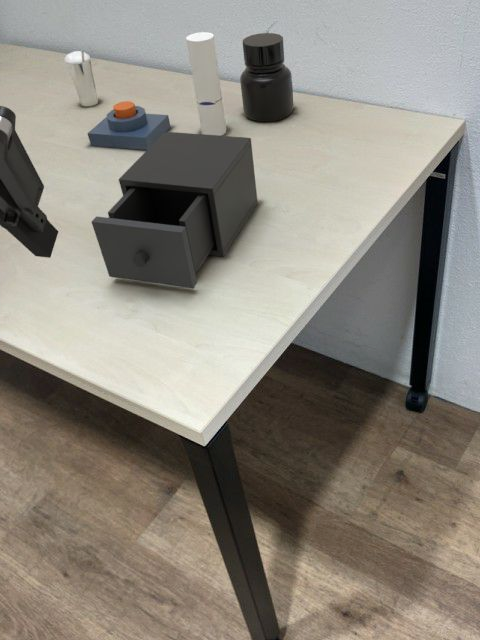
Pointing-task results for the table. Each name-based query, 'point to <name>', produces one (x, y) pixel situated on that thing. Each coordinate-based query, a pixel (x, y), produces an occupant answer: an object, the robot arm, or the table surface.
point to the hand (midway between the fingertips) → (47, 243)
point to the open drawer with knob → (156, 236)
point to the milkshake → (82, 77)
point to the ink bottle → (265, 78)
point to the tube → (206, 83)
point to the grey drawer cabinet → (202, 177)
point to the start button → (124, 110)
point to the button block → (129, 130)
